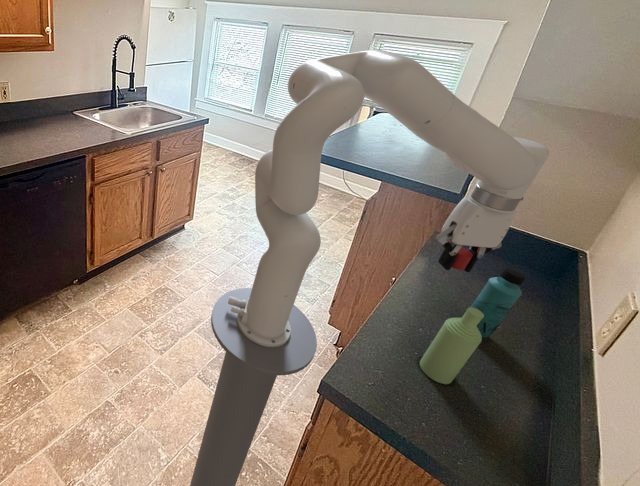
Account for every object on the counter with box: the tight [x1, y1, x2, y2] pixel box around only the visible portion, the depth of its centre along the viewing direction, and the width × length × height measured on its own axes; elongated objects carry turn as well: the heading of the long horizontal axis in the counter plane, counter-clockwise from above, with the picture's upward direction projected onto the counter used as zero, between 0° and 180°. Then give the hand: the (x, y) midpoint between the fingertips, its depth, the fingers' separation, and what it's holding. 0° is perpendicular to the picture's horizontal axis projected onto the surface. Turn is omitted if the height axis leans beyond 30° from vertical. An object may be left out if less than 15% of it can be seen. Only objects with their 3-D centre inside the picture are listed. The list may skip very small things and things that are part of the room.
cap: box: [451, 245, 473, 271], centre depth 85 cm, size 4×4×4 cm
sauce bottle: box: [419, 306, 484, 385], centre depth 81 cm, size 6×6×18 cm
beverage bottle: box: [469, 266, 526, 338], centre depth 92 cm, size 6×7×20 cm
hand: (453, 266), depth 86 cm, fingers closed on cap, 3 cm apart
